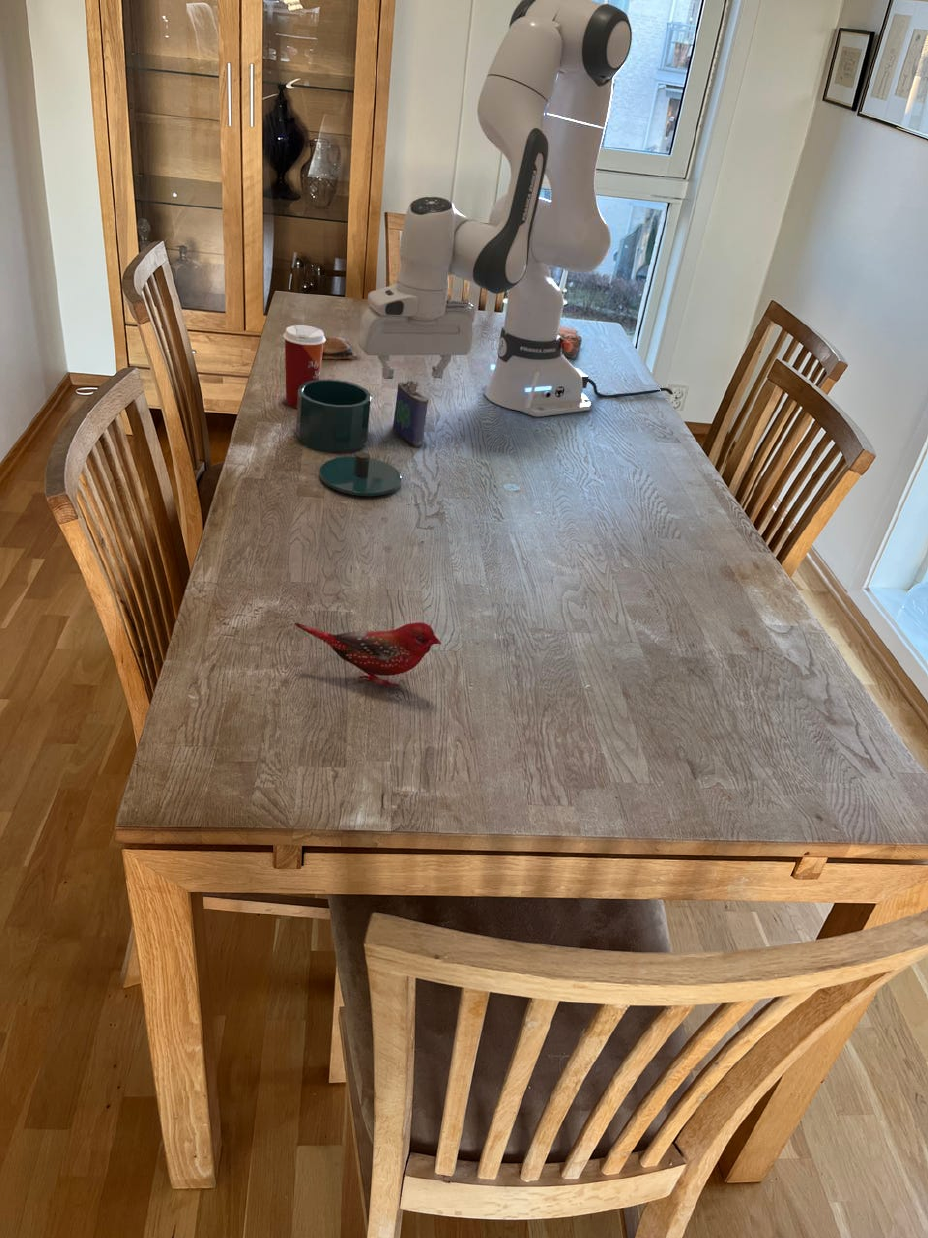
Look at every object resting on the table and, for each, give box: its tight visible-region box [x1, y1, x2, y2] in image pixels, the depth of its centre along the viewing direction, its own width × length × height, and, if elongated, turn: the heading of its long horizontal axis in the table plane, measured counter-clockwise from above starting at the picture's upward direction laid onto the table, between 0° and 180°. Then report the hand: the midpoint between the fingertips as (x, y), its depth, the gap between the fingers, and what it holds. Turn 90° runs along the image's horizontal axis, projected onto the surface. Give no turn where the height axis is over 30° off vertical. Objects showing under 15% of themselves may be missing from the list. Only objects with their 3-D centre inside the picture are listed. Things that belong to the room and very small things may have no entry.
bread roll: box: [322, 335, 358, 360], centre depth 211 cm, size 11×8×4 cm
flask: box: [392, 380, 429, 448], centre depth 178 cm, size 9×3×11 cm, turn 31°
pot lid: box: [319, 451, 403, 497], centre depth 162 cm, size 14×14×5 cm
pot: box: [295, 378, 372, 454], centre depth 173 cm, size 13×13×8 cm
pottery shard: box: [558, 325, 583, 359], centre depth 237 cm, size 16×16×4 cm
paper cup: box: [283, 324, 326, 409], centre depth 183 cm, size 8×8×14 cm
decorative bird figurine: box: [293, 621, 442, 687], centre depth 116 cm, size 3×18×10 cm, turn 80°
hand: (412, 377), depth 175 cm, fingers open, 8 cm apart
